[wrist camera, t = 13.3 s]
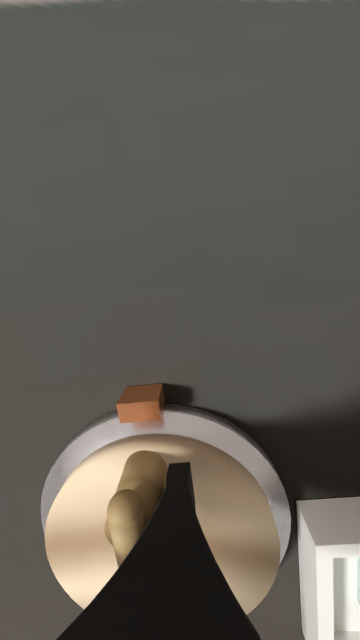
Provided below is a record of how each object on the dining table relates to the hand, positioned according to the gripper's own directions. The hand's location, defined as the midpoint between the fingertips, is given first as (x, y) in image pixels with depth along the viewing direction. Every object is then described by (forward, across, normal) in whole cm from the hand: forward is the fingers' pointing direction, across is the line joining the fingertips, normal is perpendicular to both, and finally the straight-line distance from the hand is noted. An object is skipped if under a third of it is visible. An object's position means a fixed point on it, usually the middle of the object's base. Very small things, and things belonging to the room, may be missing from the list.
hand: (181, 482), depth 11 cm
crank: (+2, +2, +5) cm, 5 cm away
